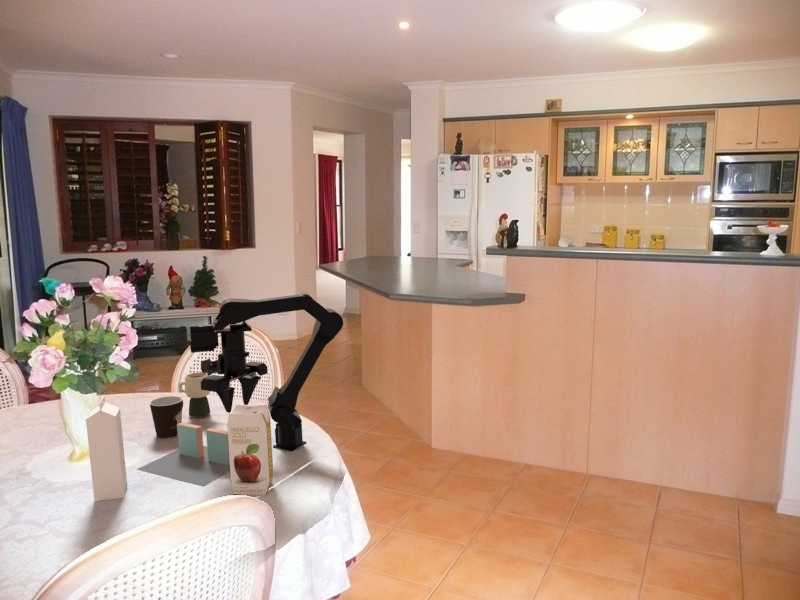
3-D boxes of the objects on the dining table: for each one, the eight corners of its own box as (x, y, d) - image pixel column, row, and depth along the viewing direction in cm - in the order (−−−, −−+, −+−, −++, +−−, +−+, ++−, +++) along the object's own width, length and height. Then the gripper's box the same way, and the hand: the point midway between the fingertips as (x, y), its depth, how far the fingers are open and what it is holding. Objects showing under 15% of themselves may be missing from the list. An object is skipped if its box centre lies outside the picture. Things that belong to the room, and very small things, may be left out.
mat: (256, 458, 157) (256, 456, 157) (203, 487, 141) (203, 486, 141) (191, 444, 167) (191, 443, 166) (136, 470, 151) (136, 469, 151)
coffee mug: (163, 443, 168) (160, 408, 166) (146, 436, 173) (143, 402, 171) (200, 430, 177) (198, 396, 175) (182, 424, 182) (180, 391, 181)
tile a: (234, 463, 153) (232, 432, 152) (229, 465, 152) (227, 434, 150) (212, 458, 156) (210, 428, 155) (207, 460, 155) (205, 430, 153)
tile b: (203, 456, 158) (201, 426, 156) (198, 458, 156) (196, 428, 155) (183, 451, 161) (181, 422, 160) (178, 454, 159) (176, 424, 158)
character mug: (218, 410, 194) (215, 370, 192) (218, 417, 187) (215, 376, 185) (181, 414, 191) (178, 373, 189) (180, 421, 184) (176, 379, 182)
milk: (94, 502, 135) (83, 405, 132) (99, 490, 141) (88, 397, 137) (124, 497, 137) (114, 402, 133) (128, 486, 143) (118, 394, 139)
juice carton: (239, 482, 143) (234, 403, 140) (276, 482, 143) (271, 403, 140) (229, 498, 136) (223, 415, 133) (268, 497, 135) (263, 414, 132)
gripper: (234, 338, 168) (238, 394, 170) (181, 354, 151) (186, 415, 154) (267, 342, 163) (270, 399, 165) (216, 358, 146) (220, 422, 149)
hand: (237, 408), depth 158 cm, fingers open, 6 cm apart
